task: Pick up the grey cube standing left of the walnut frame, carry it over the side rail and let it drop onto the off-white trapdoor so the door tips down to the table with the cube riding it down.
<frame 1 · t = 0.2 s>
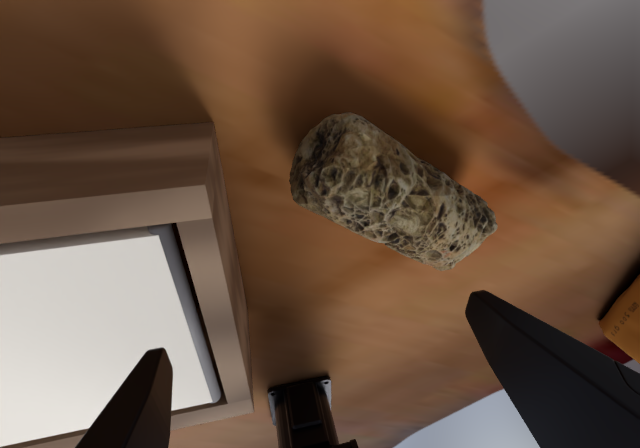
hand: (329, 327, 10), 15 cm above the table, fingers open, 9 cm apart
trapdoor: (66, 348, 17), point 8 cm above the table, hinge at 0.0°
coffee package: (639, 287, 41), on the table
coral: (379, 178, 25), on the table
trapdoor frame: (109, 250, 23), on the table
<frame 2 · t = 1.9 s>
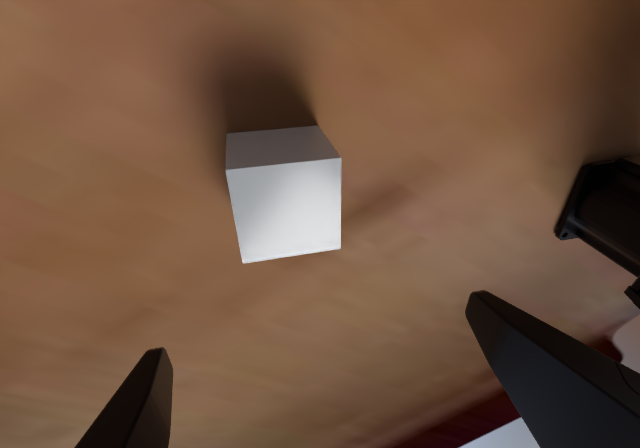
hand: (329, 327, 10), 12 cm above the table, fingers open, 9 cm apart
grey cube: (277, 171, 20), on the table
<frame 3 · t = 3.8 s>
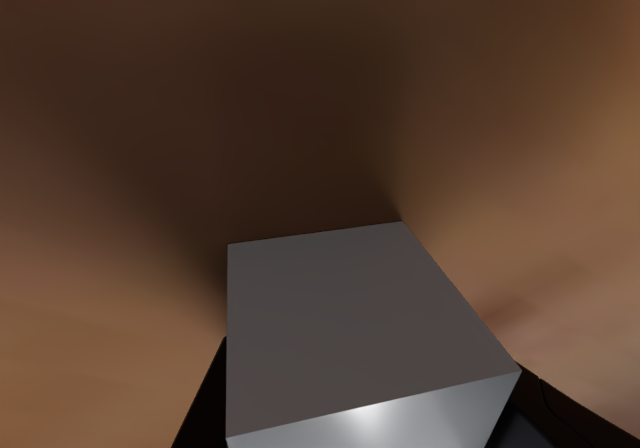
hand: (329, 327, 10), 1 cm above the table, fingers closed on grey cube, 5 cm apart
grey cube: (320, 297, 11), on the table, touching gripper
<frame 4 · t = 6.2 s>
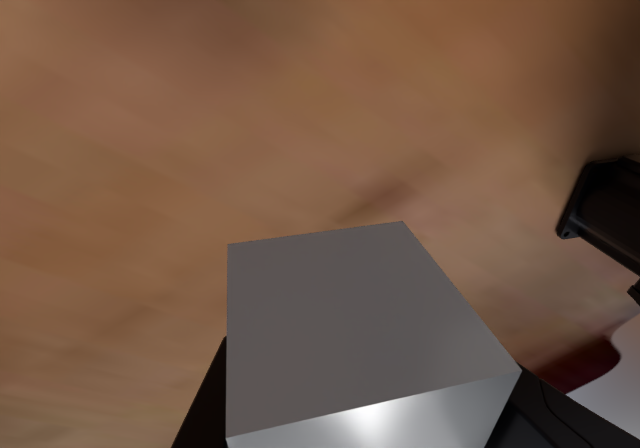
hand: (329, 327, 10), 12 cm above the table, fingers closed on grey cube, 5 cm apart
grey cube: (320, 297, 11), point 11 cm above the table, touching gripper
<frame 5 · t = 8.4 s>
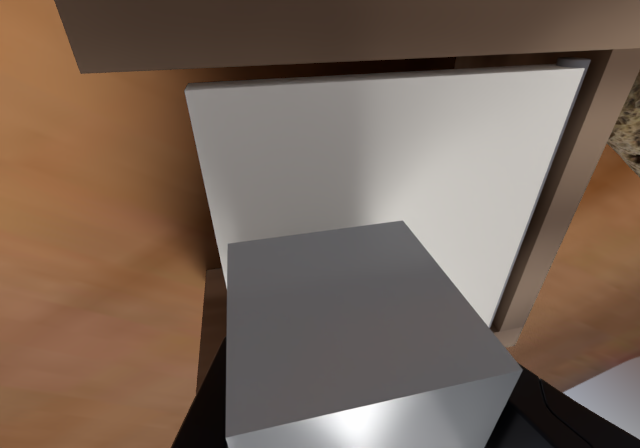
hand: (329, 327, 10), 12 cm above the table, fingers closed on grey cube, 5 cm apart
trapdoor: (387, 240, 13), point 8 cm above the table, hinge at 0.0°
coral: (615, 95, 22), on the table
grey cube: (320, 296, 11), point 10 cm above the table, touching gripper
trapdoor frame: (331, 162, 20), on the table
when the fingers open (11 cm above the table, at t = 8.8 s): grey cube drops 8 cm and tips over, resting on trapdoor.
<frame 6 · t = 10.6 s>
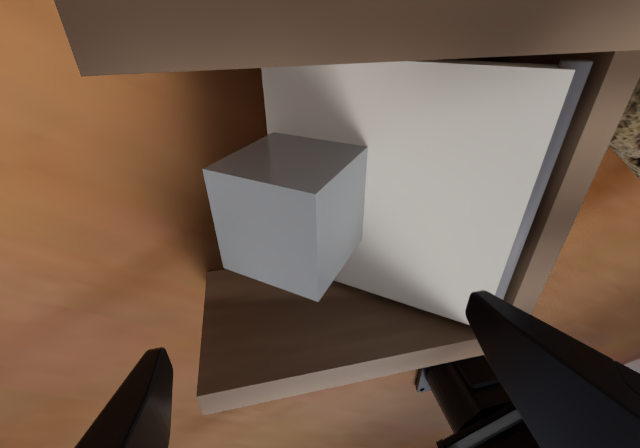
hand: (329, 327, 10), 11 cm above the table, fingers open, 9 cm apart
trapdoor: (385, 195, 17), point 4 cm above the table, hinge at -39.4°, touching grey cube
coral: (616, 97, 22), on the table
grey cube: (318, 186, 18), point 3 cm above the table, tilted 39°, touching trapdoor
trapdoor frame: (332, 164, 20), on the table
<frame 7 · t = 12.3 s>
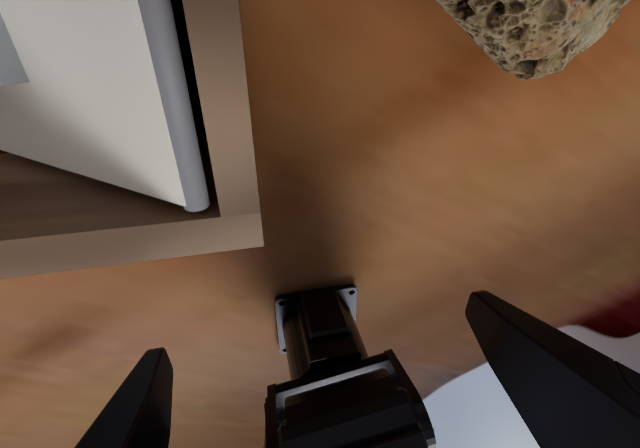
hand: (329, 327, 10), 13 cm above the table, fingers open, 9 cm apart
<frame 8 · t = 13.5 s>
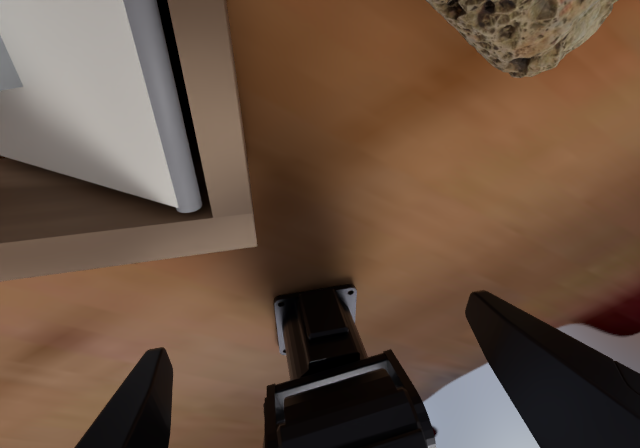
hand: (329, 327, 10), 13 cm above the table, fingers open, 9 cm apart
trapdoor: (18, 5, 11), point 4 cm above the table, hinge at -39.4°, touching grey cube
trapdoor frame: (29, 5, 15), on the table
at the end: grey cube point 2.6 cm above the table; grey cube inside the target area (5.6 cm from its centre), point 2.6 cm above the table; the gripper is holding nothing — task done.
